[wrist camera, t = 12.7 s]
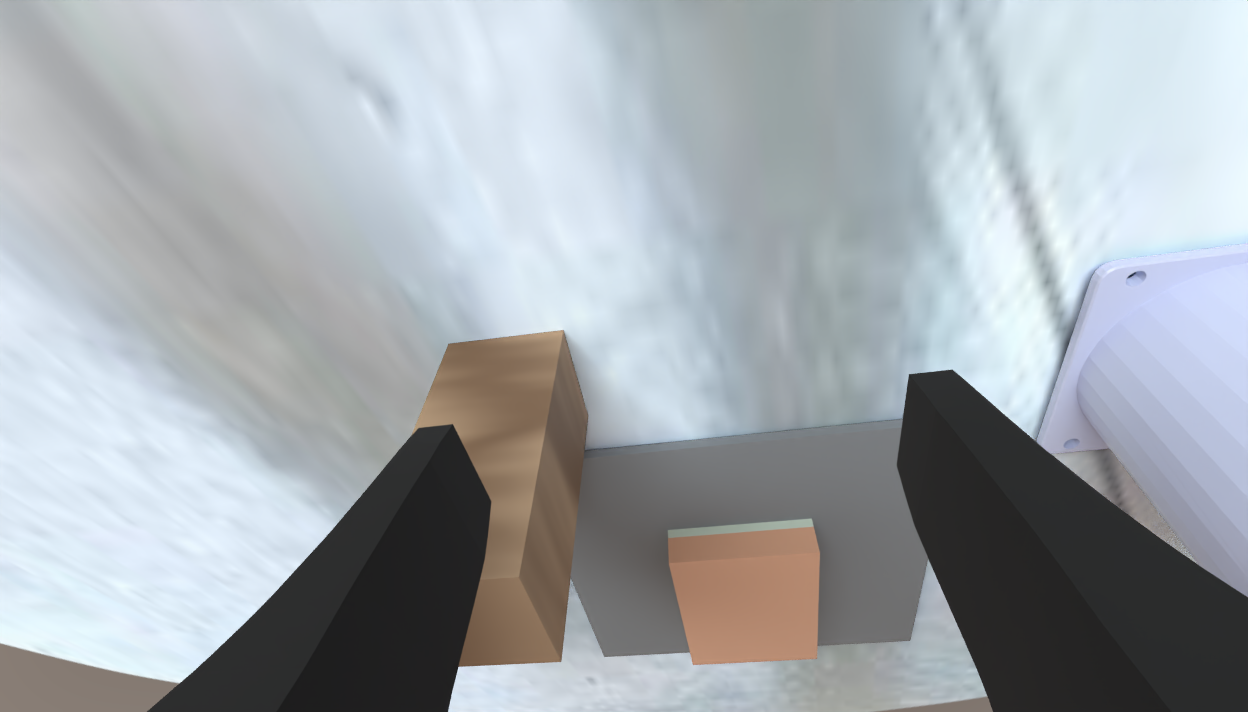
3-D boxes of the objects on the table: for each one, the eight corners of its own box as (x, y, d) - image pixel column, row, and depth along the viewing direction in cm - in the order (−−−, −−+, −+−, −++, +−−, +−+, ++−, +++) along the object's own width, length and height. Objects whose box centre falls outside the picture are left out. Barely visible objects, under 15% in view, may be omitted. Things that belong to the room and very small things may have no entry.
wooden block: (563, 330, 21) (518, 577, 14) (588, 415, 23) (561, 661, 16) (448, 343, 21) (349, 588, 14) (484, 425, 24) (415, 668, 17)
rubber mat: (953, 413, 22) (957, 422, 22) (907, 633, 32) (910, 640, 32) (524, 456, 25) (523, 464, 24) (604, 649, 34) (604, 656, 34)
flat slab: (819, 552, 25) (816, 658, 30) (811, 518, 26) (810, 626, 31) (668, 563, 25) (693, 664, 31) (667, 529, 27) (691, 633, 32)
